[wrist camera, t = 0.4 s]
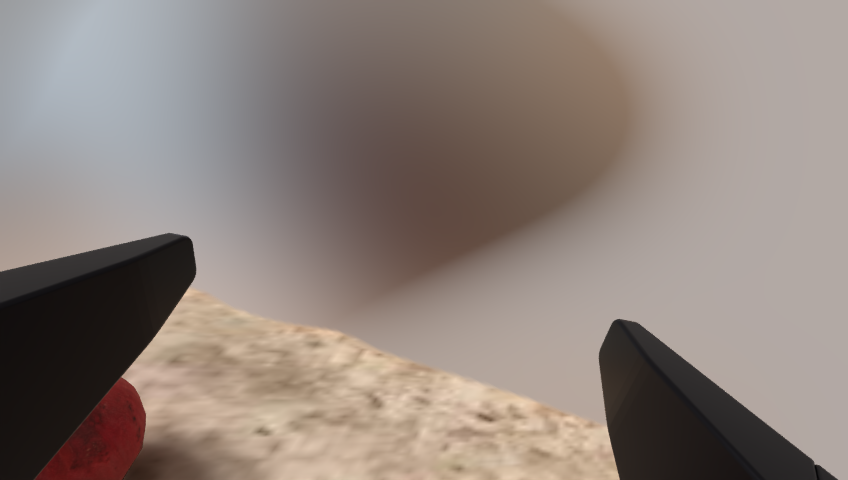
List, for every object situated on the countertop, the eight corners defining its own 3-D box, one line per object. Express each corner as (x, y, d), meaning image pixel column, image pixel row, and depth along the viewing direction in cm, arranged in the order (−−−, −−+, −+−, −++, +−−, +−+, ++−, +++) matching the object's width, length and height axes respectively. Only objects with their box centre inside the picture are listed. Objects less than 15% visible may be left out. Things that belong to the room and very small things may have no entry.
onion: (189, 460, 21) (147, 359, 16) (58, 583, 17) (-48, 492, 12) (118, 403, 23) (63, 298, 18) (-15, 499, 19) (-131, 393, 14)
